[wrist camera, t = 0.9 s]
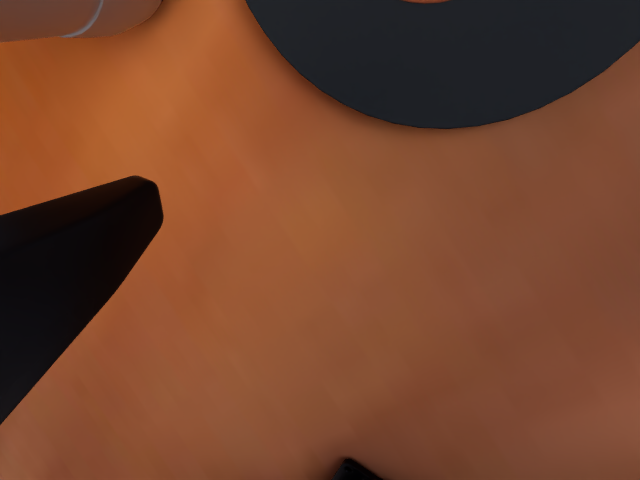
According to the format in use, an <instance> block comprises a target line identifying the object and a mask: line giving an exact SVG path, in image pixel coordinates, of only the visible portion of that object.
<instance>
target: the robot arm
mask: <svg viewBox="0 0 640 480" xmlns="http://www.w3.org/2000/svg"><path fill="white" fill-rule="evenodd" d="M163 217H164V216H163V210H162V205H161V200H160V195H159V190H158V187H157V185H156V184H155V183H154V182H153V181H150V180H148V179H145V178H143V177H140V176H130V177H127V178H123V179H120V180H117V181H113V182H110V183H107V184H103V185H100V186H97V187H93V188H90V189H87V190H83V191H80V192H77V193H73V194H70V195H67V196H63V197H60V198H57V199H53V200H50V201H47V202H43V203H40V204H37V205H33V206H30V207H27V208H23V209H20V210H17V211H13V212H10V213H7V214H3V215H0V425H1V424H2V422H3V421H4V420H5V419H6V418H7V417H8V415H9V414H10V413H11V412H12V411H13V410H14V409H15V407H16V406H17V405H18V404H19V403H20V402H21V400H22V399H23V398H24V397H25V396H26V395H27V394H28V392H29V391H30V390H31V389H32V388H33V387H34V385H35V384H36V383H37V382H38V381H39V380H40V379H41V377H42V376H43V375H44V374H45V373H46V372H47V370H48V369H49V368H50V367H51V366H52V365H53V364H54V362H55V361H56V360H57V359H58V358H59V357H60V355H61V354H62V353H63V352H64V351H65V350H66V349H67V347H68V346H69V345H70V344H71V343H72V342H73V340H74V339H75V338H76V337H77V336H78V335H79V334H80V332H81V331H82V330H83V329H84V328H85V327H86V325H87V324H88V323H89V322H90V321H91V320H92V319H93V317H94V316H95V315H96V314H97V313H98V312H99V310H100V309H101V308H102V307H103V306H104V305H105V304H106V302H107V301H108V300H109V299H110V298H111V296H112V295H113V294H114V293H115V292H116V290H117V289H118V288H119V286H120V285H121V284H122V282H123V281H124V280H125V278H126V277H127V275H128V274H129V272H130V271H131V269H132V268H133V267H134V265H135V264H136V262H137V261H138V259H139V258H140V257H141V255H142V254H143V252H144V251H145V249H146V248H147V247H148V245H149V244H150V242H151V241H152V239H153V238H154V237H155V235H156V234H157V232H158V231H159V229H160V228H161V225H162V223H163ZM331 480H382V479H380V478H379V477H377V476H376V475H374V474H373V473H371V472H370V471H368V470H367V469H366V468H364V467H363V466H361V465H360V464H358V463H357V462H355V461H354V460H352V459H345V460H344V461H343V463H342V464H341V466H340V467H339V469H338V470H337V472H336V473H335V475H334V476H333V478H332V479H331Z"/></svg>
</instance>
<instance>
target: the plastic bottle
mask: <svg viewBox="0 0 640 480" xmlns="http://www.w3.org/2000/svg"><path fill="white" fill-rule="evenodd" d="M161 2H162V0H0V43H2V42H12V41H21V40H30V39H40V38H49V37H58V36H59V37H68V38H92V37H110V36H114V35H118V34H121V33H123V32H125V31H127V30H129V29H131V28H133V27H135V26H137V25H139V24H141V23H143V22H144V21H146V20H147V19H149V18H150V17H151V16H152V15H153V14H154V12H155V11H156V10H157V9H158V7H159V5H160V3H161Z"/></svg>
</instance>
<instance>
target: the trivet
mask: <svg viewBox="0 0 640 480" xmlns="http://www.w3.org/2000/svg"><path fill="white" fill-rule="evenodd" d="M246 3H247V5H248V7H249V9H250V10H251V12H252V13H253V15H254V17H255V18H256V20H257V22H258V23H259V25H260V26H261V28H262V30H263V31H264V33H265V34H266V35H267V37H268V38H269V39H270V41H271V42H272V43H273V44H274V46H275V47H276V48H277V50H278V51H279V52H280V53H281V55H282V56H283V57H284V58H285V59H286V60H287V61H288V62H289V63H290V64H291V65H292V66H293V67H294V68H295V69H296V70H297V71H298V72H299V73H300V74H301V75H302V76H304V77H305V78H306V79H307V80H309V81H310V82H311V83H312V84H314V85H315V86H316V87H317V88H318V89H320V90H321V91H323V92H324V93H326V94H327V95H329V96H331V97H332V98H334V99H336V100H337V101H339V102H340V103H342V104H344V105H346V106H348V107H350V108H352V109H355V110H357V111H359V112H361V113H363V114H366V115H368V116H371V117H374V118H378V119H381V120H384V121H387V122H391V123H395V124H400V125H406V126H412V127H418V128H438V129H453V128H464V127H474V126H481V125H485V124H490V123H494V122H499V121H503V120H508V119H511V118H514V117H517V116H519V115H522V114H525V113H528V112H531V111H533V110H536V109H539V108H541V107H543V106H545V105H547V104H549V103H551V102H553V101H555V100H557V99H559V98H561V97H563V96H565V95H567V94H569V93H571V92H573V91H574V90H576V89H577V88H579V87H581V86H582V85H584V84H585V83H587V82H588V81H590V80H591V79H593V78H594V77H596V76H597V75H599V74H600V73H602V72H603V71H605V70H606V69H607V68H608V67H610V66H611V65H612V64H613V63H614V62H616V61H617V60H618V59H619V58H620V57H622V56H623V55H624V54H625V53H626V52H628V51H629V50H630V49H631V48H633V47H634V46H635V45H636V44H637V43H638V42H639V41H640V0H246Z"/></svg>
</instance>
